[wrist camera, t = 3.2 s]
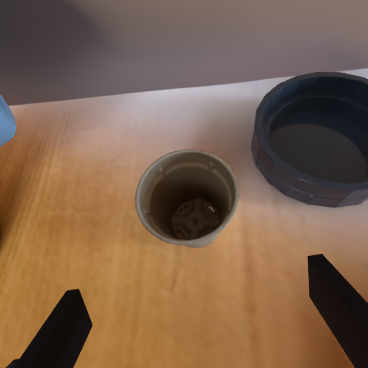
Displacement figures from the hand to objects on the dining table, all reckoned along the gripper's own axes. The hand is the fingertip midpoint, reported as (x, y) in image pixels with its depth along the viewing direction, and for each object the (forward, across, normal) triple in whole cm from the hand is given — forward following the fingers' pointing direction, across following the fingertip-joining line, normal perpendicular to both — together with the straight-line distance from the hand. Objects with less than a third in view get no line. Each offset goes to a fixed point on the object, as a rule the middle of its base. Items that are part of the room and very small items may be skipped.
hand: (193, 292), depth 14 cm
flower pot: (+15, 0, -3) cm, 16 cm away
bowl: (+20, +17, +2) cm, 26 cm away
